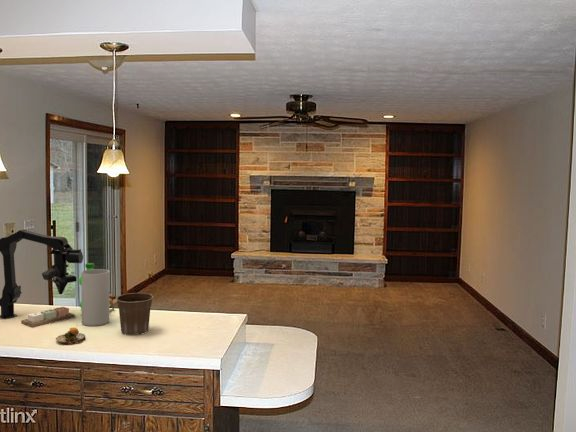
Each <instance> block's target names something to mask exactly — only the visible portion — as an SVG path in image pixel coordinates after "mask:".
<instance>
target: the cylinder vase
mask: <svg viewBox="0 0 576 432" xmlns="http://www.w3.org/2000/svg"><path fill="white" fill-rule="evenodd" d="M80 276H81V285H80V286H81V300H82V309H81V323H82V325H84V326H88V327H96V326H97V327H98V326H103V325H106V324H108V323H109V322H110V305H109V298H110V270H109V269H103V268H93V269H91V270H87V269H86V270H82V271H81V274H80Z"/></svg>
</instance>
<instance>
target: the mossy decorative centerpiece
mask: <svg viewBox="0 0 576 432" xmlns="http://www.w3.org/2000/svg"><path fill="white" fill-rule="evenodd" d="M77 327H78V325H76V327H70V328H69V330H68V331H67V332H65V333H63V334H61V335H58V336H57V337H55V340H56V341H57V342H58V343H61V344H62V345H63V346H69V344H71V345H72V346H73V345H74V346H75V345H77V344H80V343H84V342H85V341H86V335H85V334H84V333H81V332H79V329H78V328H77ZM83 341H84V342H83Z"/></svg>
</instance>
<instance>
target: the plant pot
mask: <svg viewBox="0 0 576 432" xmlns="http://www.w3.org/2000/svg"><path fill="white" fill-rule="evenodd" d="M153 298H154V295H152V294H150V293H147V292H146V293H145V292H130V293H124V294H120V295H118V296H117V297H115V300H116V302H117V308H118V312H119V313H118V314H119V323H120V332H121V334H122V335H125V334H126V336H135V335H138V334H140V335H143V334H142V333H144V334H146V333H147V332H148V331H149V328H150V318H151V317H150V316H151V314H150V313H151V307H152V303H153ZM145 332H146V333H145Z"/></svg>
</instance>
